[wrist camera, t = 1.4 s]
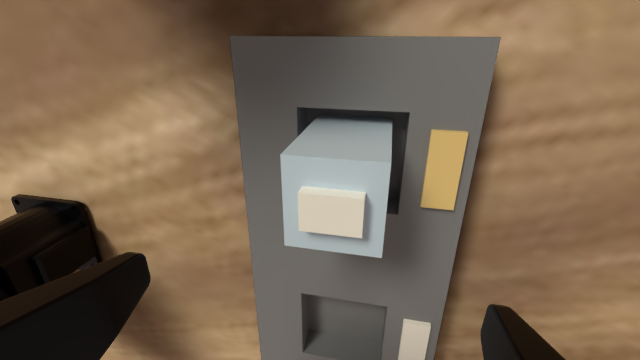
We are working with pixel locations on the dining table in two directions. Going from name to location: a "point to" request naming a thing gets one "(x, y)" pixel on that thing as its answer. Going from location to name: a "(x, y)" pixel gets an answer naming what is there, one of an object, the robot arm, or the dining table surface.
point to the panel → (403, 197)
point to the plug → (338, 185)
